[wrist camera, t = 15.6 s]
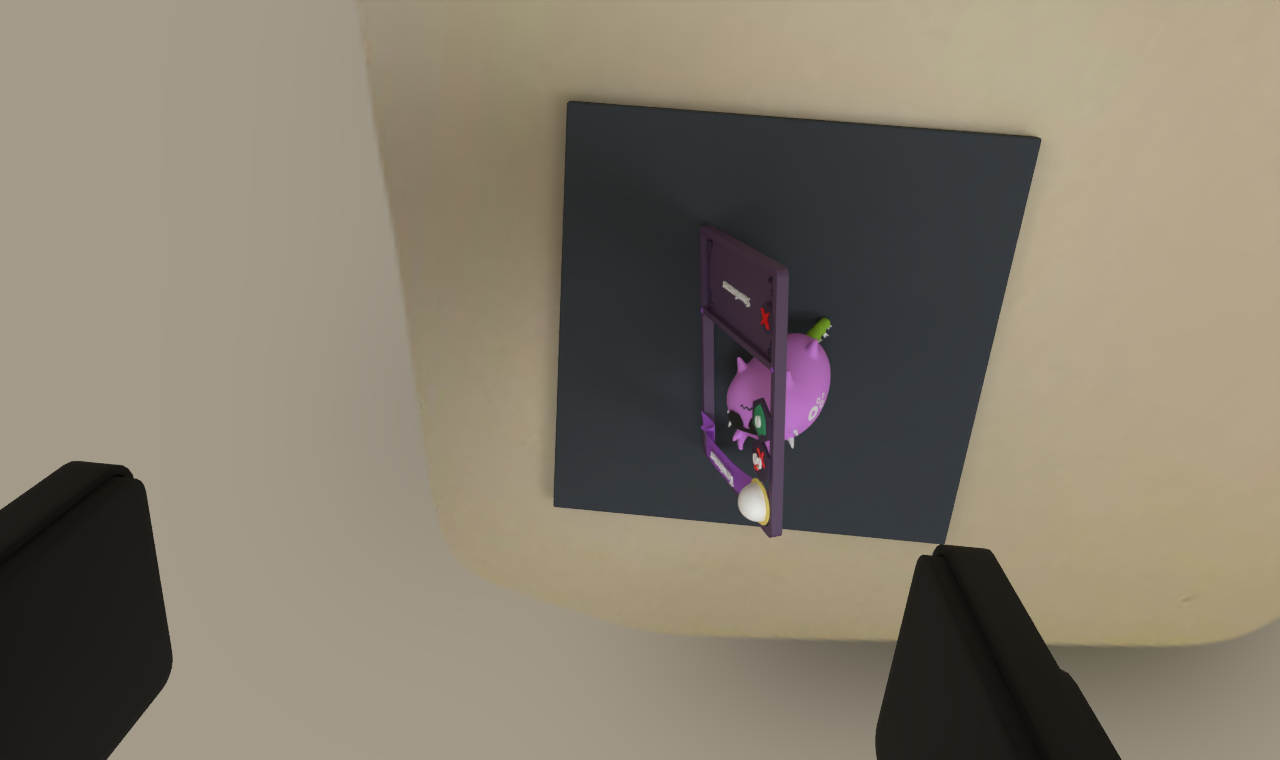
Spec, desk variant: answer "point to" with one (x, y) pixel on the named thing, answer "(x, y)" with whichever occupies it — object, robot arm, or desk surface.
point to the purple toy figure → (757, 369)
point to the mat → (818, 288)
